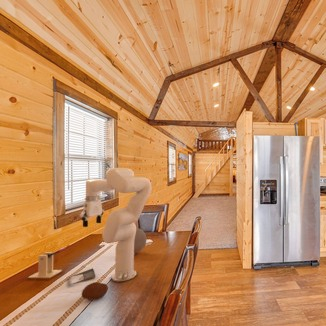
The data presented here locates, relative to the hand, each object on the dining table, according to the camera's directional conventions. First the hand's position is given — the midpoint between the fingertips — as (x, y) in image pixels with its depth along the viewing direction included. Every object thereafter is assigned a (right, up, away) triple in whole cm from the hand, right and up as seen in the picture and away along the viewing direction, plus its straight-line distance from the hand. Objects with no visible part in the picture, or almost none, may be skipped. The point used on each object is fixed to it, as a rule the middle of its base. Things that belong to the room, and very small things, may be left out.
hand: (92, 224), depth 149 cm
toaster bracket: (-17, -26, -15) cm, 34 cm away
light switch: (+7, -26, -19) cm, 33 cm away
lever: (-12, -14, -15) cm, 24 cm away
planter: (+16, -27, +20) cm, 37 cm away
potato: (+27, -26, -37) cm, 53 cm away
